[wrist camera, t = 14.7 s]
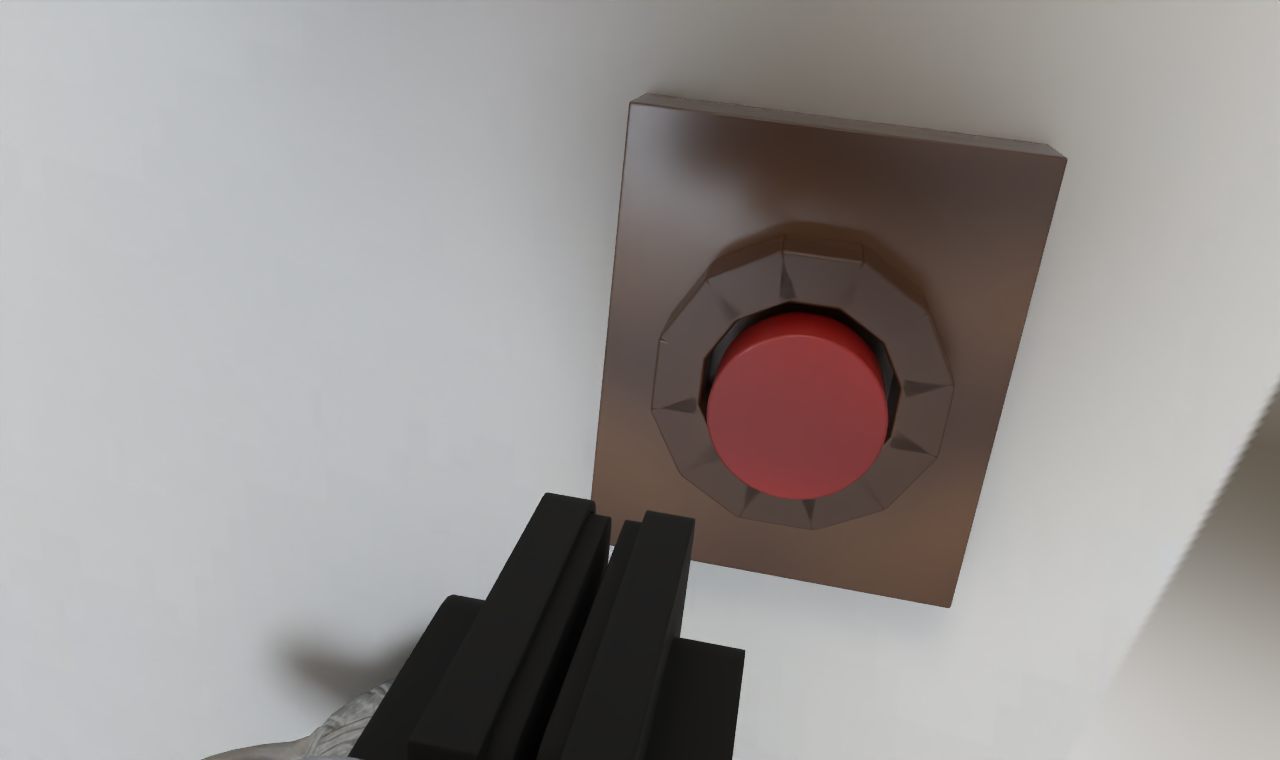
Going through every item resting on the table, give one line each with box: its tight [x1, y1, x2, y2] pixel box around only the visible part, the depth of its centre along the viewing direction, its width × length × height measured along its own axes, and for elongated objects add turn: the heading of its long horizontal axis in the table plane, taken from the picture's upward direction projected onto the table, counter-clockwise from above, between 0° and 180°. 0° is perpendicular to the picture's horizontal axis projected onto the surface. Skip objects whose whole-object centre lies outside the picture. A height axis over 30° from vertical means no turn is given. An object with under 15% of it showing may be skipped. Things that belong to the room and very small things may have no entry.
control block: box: [591, 94, 1067, 608], centre depth 25 cm, size 12×10×4 cm
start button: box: [707, 312, 888, 499], centre depth 23 cm, size 4×4×2 cm
